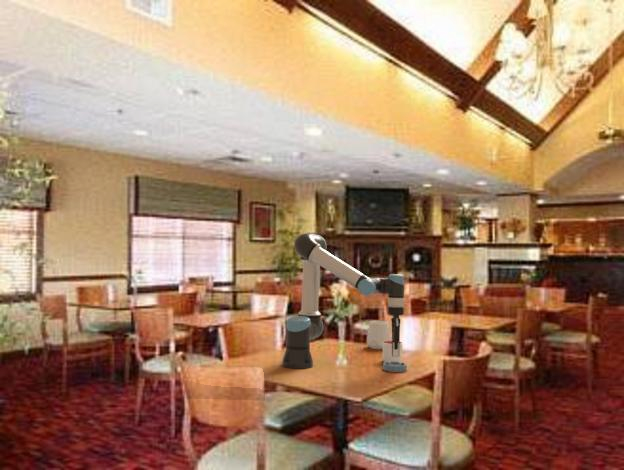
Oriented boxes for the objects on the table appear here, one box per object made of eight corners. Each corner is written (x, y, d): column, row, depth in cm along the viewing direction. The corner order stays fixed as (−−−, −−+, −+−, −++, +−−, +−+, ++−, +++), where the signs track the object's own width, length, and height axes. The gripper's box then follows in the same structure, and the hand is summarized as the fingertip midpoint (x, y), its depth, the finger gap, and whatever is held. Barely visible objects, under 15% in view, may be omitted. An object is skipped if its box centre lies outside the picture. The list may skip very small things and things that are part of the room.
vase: (394, 347, 344) (395, 321, 345) (384, 350, 332) (385, 324, 333) (373, 344, 352) (373, 319, 352) (362, 348, 340) (362, 321, 340)
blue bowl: (384, 371, 277) (384, 364, 277) (382, 367, 288) (382, 359, 288) (407, 372, 276) (408, 364, 276) (404, 367, 287) (404, 360, 287)
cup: (401, 364, 295) (401, 344, 295) (381, 363, 297) (381, 343, 297) (402, 360, 305) (402, 341, 305) (383, 359, 307) (383, 340, 307)
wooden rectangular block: (392, 356, 281) (392, 333, 281) (391, 355, 283) (391, 332, 284) (399, 356, 281) (399, 333, 281) (398, 355, 283) (398, 332, 283)
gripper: (406, 308, 275) (405, 358, 274) (401, 304, 290) (400, 352, 290) (389, 307, 275) (389, 358, 274) (386, 304, 290) (385, 352, 290)
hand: (395, 355), depth 282 cm, fingers closed on wooden rectangular block, 2 cm apart
